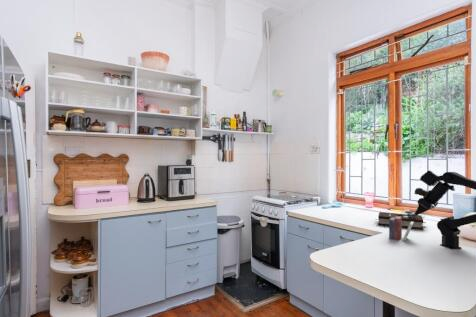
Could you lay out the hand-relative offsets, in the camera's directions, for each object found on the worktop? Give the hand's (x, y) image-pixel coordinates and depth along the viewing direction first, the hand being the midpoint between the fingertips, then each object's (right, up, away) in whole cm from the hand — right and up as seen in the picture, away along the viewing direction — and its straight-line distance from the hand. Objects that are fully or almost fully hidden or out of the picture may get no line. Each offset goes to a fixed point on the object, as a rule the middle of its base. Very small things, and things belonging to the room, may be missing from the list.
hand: (417, 214), depth 151 cm
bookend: (-5, -14, +2) cm, 15 cm away
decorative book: (+12, -16, +37) cm, 42 cm away
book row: (-9, -15, +5) cm, 18 cm away
